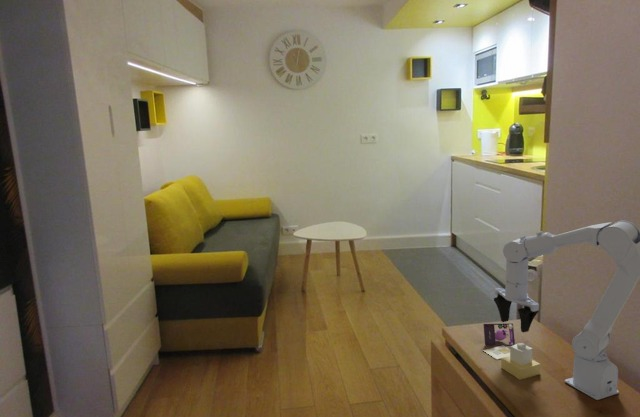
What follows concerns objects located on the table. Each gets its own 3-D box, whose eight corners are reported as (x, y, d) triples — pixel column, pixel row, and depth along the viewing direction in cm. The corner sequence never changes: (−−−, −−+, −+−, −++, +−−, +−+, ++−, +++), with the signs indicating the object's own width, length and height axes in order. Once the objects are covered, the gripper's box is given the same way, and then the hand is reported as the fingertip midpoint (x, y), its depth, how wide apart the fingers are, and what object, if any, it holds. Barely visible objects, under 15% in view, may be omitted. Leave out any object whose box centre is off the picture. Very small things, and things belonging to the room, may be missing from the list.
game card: (484, 324, 141) (513, 323, 141) (479, 322, 146) (508, 322, 146) (486, 346, 140) (515, 346, 140) (481, 344, 145) (510, 344, 145)
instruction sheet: (518, 354, 135) (518, 353, 135) (496, 359, 132) (496, 358, 132) (503, 345, 140) (503, 344, 140) (482, 351, 138) (482, 350, 138)
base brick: (539, 374, 124) (540, 364, 123) (520, 379, 121) (520, 369, 121) (520, 362, 130) (520, 352, 130) (501, 367, 128) (501, 357, 127)
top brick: (532, 361, 124) (532, 345, 124) (522, 365, 123) (522, 349, 122) (519, 355, 128) (520, 340, 127) (510, 359, 126) (510, 343, 125)
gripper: (548, 286, 122) (545, 333, 125) (508, 272, 136) (506, 314, 138) (528, 290, 120) (526, 338, 122) (489, 275, 133) (488, 318, 136)
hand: (514, 326), depth 130 cm, fingers open, 7 cm apart
